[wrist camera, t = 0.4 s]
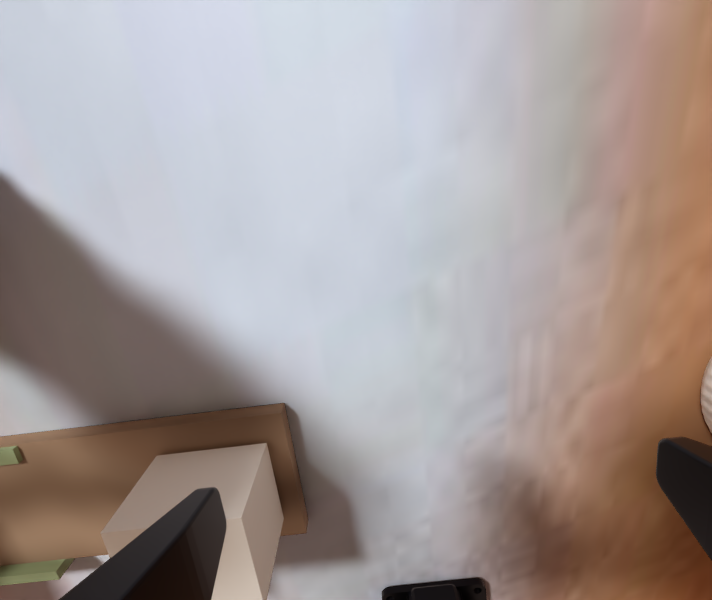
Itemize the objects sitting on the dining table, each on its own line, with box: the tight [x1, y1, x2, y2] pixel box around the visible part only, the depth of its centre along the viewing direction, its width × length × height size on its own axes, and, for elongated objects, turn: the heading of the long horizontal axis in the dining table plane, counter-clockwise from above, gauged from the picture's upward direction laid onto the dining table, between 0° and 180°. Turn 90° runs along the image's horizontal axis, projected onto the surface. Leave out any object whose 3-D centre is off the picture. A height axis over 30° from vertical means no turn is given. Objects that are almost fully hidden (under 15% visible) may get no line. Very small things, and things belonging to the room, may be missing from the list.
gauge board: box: [0, 403, 308, 586], centre depth 21 cm, size 9×24×7 cm, turn 98°
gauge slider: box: [100, 443, 284, 600], centre depth 20 cm, size 8×6×5 cm
